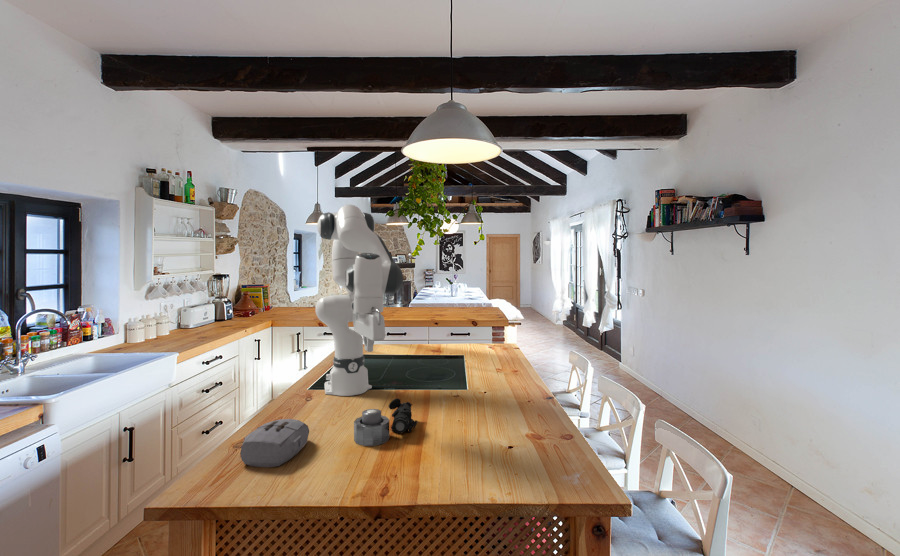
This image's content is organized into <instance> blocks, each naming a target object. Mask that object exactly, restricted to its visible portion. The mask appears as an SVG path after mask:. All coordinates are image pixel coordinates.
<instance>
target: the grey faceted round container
mask: <svg viewBox="0 0 900 556" xmlns="http://www.w3.org/2000/svg"><path fill="white" fill-rule="evenodd" d="M389 439H390V418H388V416H385V415H382V414H381V423H380V424H376V425H364V424H362V415H361V416H358V417H357V418H355V419H354V421H353V441H354V442H355V443H356V445H360V446H362V445H363V446H362V447H375V446H379V445H383V444H385V443H387V442H388V441H389Z"/></svg>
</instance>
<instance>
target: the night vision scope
mask: <svg viewBox="0 0 900 556" xmlns="http://www.w3.org/2000/svg"><path fill="white" fill-rule="evenodd" d="M401 402H402V400H401V398H394V399H392V400H391V402H390V403H389V404H388V408H389V409H390V410H394V411H393V413H392V414H391V417H392V418H393V420H392V424H391V427H390V428H391V432H393V433H396V434H403V433H405V432H406V431H408V433H412V430H413V429H415V428H416V426H417V424H418V422H419V421H418V420H414V419H413V418H412V416H413V415H412V406H413V403H411V402H409V401H405V402H402V403H401Z"/></svg>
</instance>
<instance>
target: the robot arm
mask: <svg viewBox="0 0 900 556" xmlns="http://www.w3.org/2000/svg"><path fill="white" fill-rule="evenodd" d="M374 219H375V218H374V217H373V215H372V214H371V213H368V212H362V211H361V209H360V208H359V207H358V206H356V205H354V204H345V205H343V206H342V207H341V206H340V208H339V209H338V211H336V212H324V213H322V214H321V215H320V216H319V217H318V220H317V223H316V224H317V226H316V227H317V231H318V233H319V236H320V237H321V238H322V239H325V240H328V241H331V240H333V241H332V249H331V267H332V268H331V269H332V279H333V282H334V283H335V284H337V285H339V286H341V287H343V288H344V289H345V290H346V291H347V294H331V295H326V296H324V297H323V296H322V297H320V298H319V299H318V300H317V302H316V304H315V310H314V311H315V315H316V317H317V319H318V320H319V321H320V322H321V323H323V324H324V325H326V326H327V328H328V329H329V330H330V332H331V334H332V336H333V343H334V356H333V360H332V362H333V363H332V368H331V370H330V371H329V373H326V375H325V380H326V381H325V382H324V386H323V387H324V394H325V395H332V396H333V395H334V396H339V397H341V396H343V397H346V396H347V397H349V396H350V397H351V396H357V395H362V394H364V393H366V392H367V391H368V390H370V389H372V387H373V385H371V384H369V374H368V373H369V372H368V368H367V367H365V355H364V354H363V353H364V351H366V352H368V353H371V352H372V353H373V351H374V344H375V342H381V341H385V338H386V325H385V317H384V315H383V314H381V313H382V312H384V294H391V295H394V294H396V293H397V292H398V291H399V290H400V289H401V288H402V287H403V285H404V275H403V271H402V269H401V267H400V266H399V265H398V264H397V263H396V262H395V259H394V258H393V256H392V254H391V253H390V251H389V249H388V247H387V246H386V244H385V241H384V240H383V239H382V237H381V236H379V235H378V234H376V233H375V229H376V223H375V220H374ZM349 323H352V325H353V329H352V328H350V326H349Z"/></svg>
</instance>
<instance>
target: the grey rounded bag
mask: <svg viewBox="0 0 900 556" xmlns="http://www.w3.org/2000/svg"><path fill="white" fill-rule="evenodd" d="M309 428H310V427H309V426H308V425H307V424H306V423H305V422H304V421H301V420H300V419H294V418H281V419H275V420H272V421H269V422H266V423H263V424H262V425H260V426H258V427H257V428H256V429H254V430H253V431H251V432H250V433H248V434H247V435H246V436H245V437H244V438H243V442H242V445H241V448H240V453H239V454H240V458H241V461H242V462H243V464H245V465H247V466H250V467H256V468H257V467H258V468H274V467H280V466H281V465H283V464H285V463H286V462H288V461H290V460H291V459H292V458H293V457H295V456H297V454H299V452H300V451H301V450H302V449H303V448H304V447H305V445H306V444H307V443H308V439H309V434H310V429H309Z"/></svg>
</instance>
